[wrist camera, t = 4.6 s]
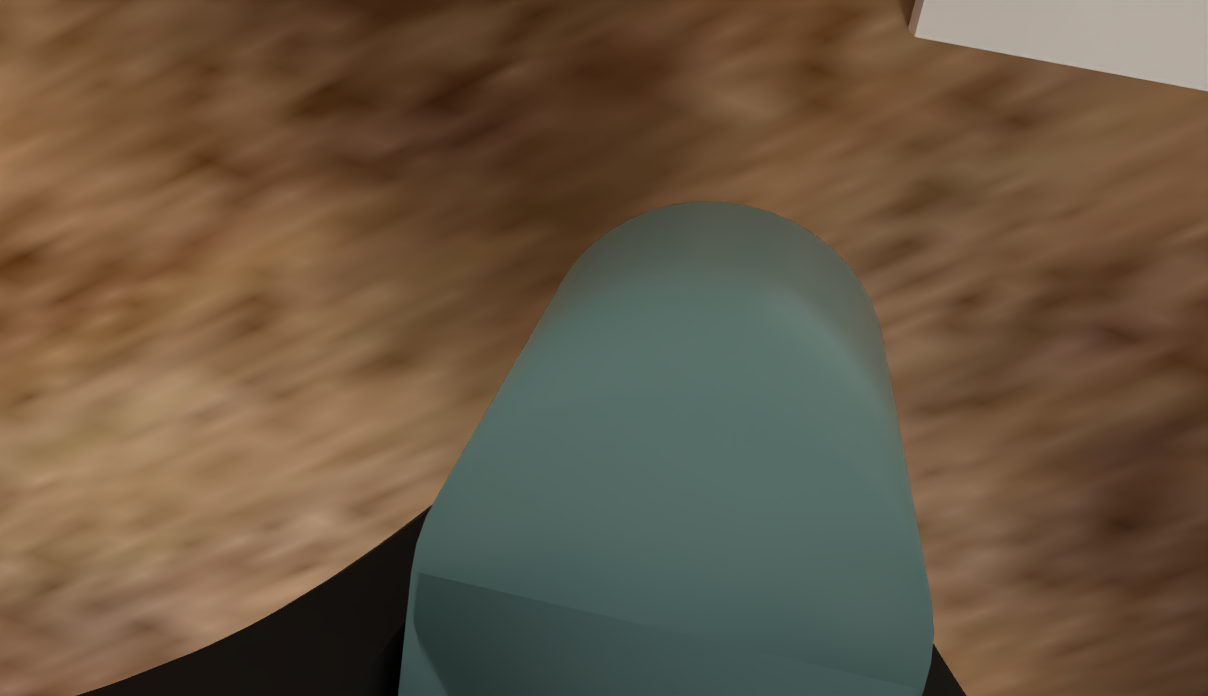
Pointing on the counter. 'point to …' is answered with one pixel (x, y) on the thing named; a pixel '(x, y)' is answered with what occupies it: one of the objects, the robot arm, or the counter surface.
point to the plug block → (682, 485)
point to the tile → (1081, 33)
